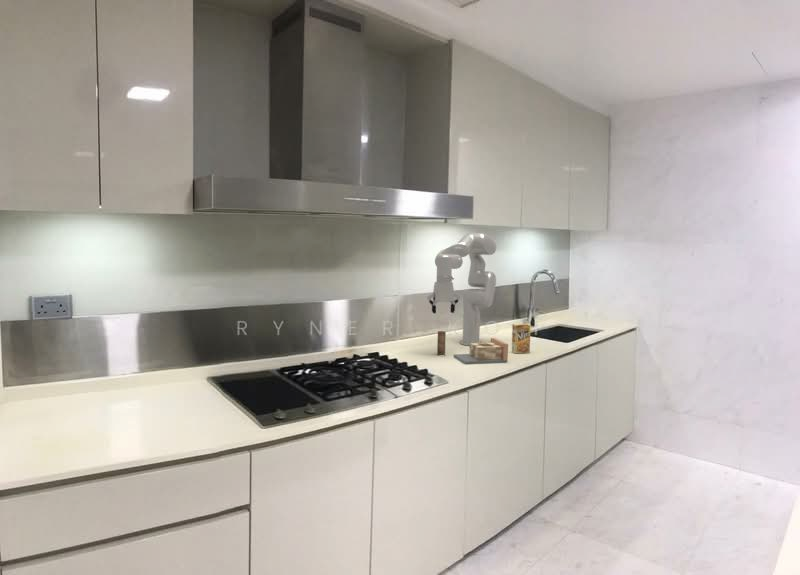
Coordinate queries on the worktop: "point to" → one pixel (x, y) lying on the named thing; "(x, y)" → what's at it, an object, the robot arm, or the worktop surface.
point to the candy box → (521, 338)
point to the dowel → (441, 343)
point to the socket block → (485, 351)
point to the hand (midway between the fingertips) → (443, 312)
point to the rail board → (471, 360)
